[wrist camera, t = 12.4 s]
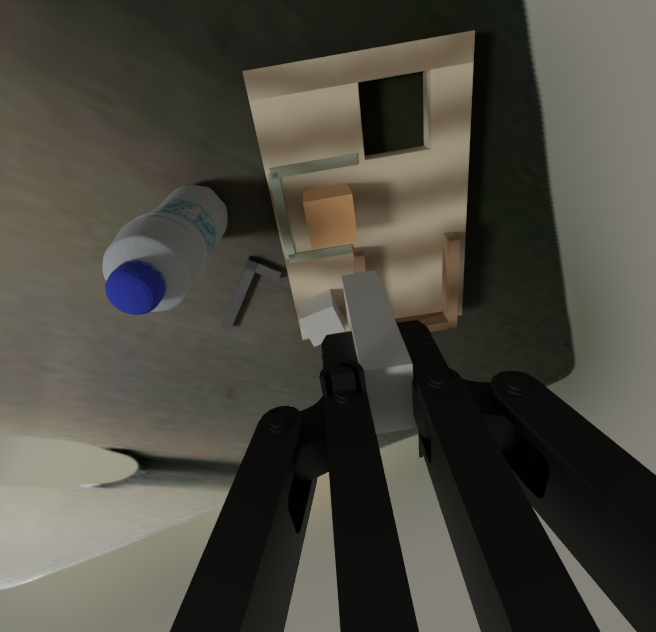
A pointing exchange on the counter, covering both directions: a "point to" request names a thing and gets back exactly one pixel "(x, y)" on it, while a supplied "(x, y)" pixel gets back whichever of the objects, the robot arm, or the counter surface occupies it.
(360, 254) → the cubby
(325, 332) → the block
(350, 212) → the cube
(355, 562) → the robot arm
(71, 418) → the counter surface
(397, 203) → the board
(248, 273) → the crook tool
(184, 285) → the bottle
